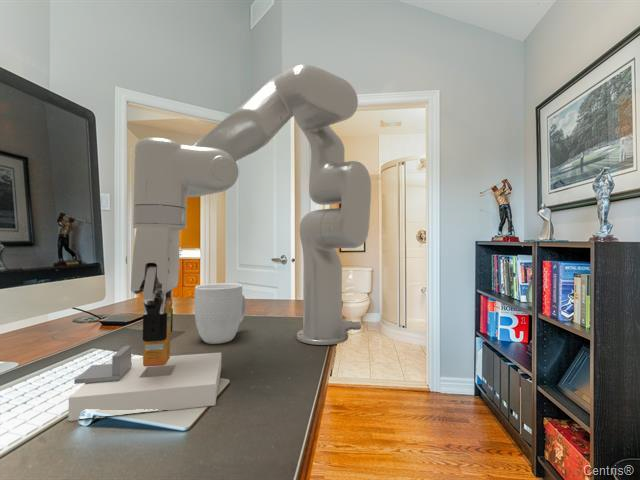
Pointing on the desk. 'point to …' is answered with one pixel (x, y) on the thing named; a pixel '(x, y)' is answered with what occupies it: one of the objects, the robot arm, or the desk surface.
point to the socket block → (154, 386)
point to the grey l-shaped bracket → (108, 368)
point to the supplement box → (159, 343)
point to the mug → (219, 311)
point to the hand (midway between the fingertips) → (158, 335)
